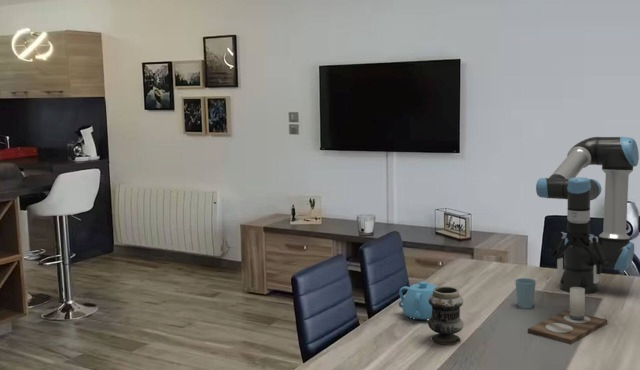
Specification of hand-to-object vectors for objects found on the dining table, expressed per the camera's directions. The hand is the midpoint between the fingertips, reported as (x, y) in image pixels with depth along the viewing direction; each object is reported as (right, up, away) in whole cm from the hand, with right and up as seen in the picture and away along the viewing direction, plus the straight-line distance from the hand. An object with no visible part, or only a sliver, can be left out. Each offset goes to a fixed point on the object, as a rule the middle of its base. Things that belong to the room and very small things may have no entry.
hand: (577, 279), depth 237 cm
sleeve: (0, -14, +2) cm, 15 cm away
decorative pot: (-53, -17, +16) cm, 58 cm away
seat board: (-4, -17, -2) cm, 18 cm away
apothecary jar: (-49, -20, -9) cm, 54 cm away
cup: (-12, -14, +23) cm, 30 cm away
